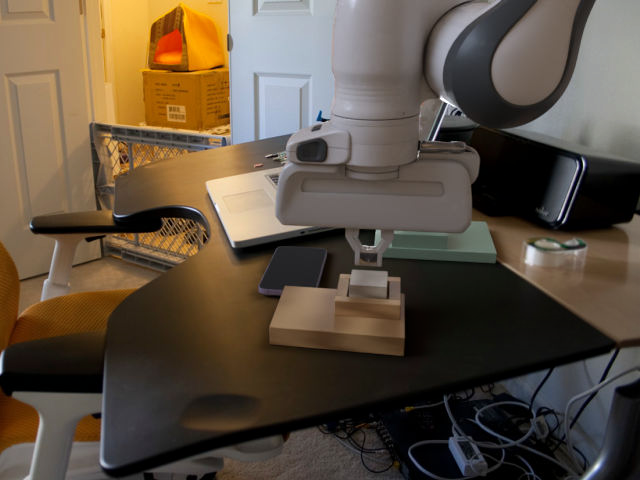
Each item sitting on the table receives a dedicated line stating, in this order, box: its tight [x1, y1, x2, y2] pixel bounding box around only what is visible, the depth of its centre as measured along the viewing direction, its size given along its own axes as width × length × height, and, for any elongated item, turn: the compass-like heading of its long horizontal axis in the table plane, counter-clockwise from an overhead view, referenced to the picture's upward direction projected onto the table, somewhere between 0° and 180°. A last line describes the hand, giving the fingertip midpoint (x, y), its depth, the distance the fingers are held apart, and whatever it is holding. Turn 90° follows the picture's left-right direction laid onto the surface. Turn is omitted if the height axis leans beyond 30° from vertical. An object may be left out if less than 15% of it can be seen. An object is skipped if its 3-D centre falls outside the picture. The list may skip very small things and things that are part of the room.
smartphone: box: [258, 245, 328, 297], centre depth 84 cm, size 7×1×15 cm
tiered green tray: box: [373, 220, 498, 264], centre depth 91 cm, size 16×12×4 cm
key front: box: [349, 269, 389, 299], centre depth 71 cm, size 4×4×2 cm
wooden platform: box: [268, 273, 406, 357], centre depth 71 cm, size 14×10×4 cm
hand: (368, 264), depth 70 cm, fingers closed
